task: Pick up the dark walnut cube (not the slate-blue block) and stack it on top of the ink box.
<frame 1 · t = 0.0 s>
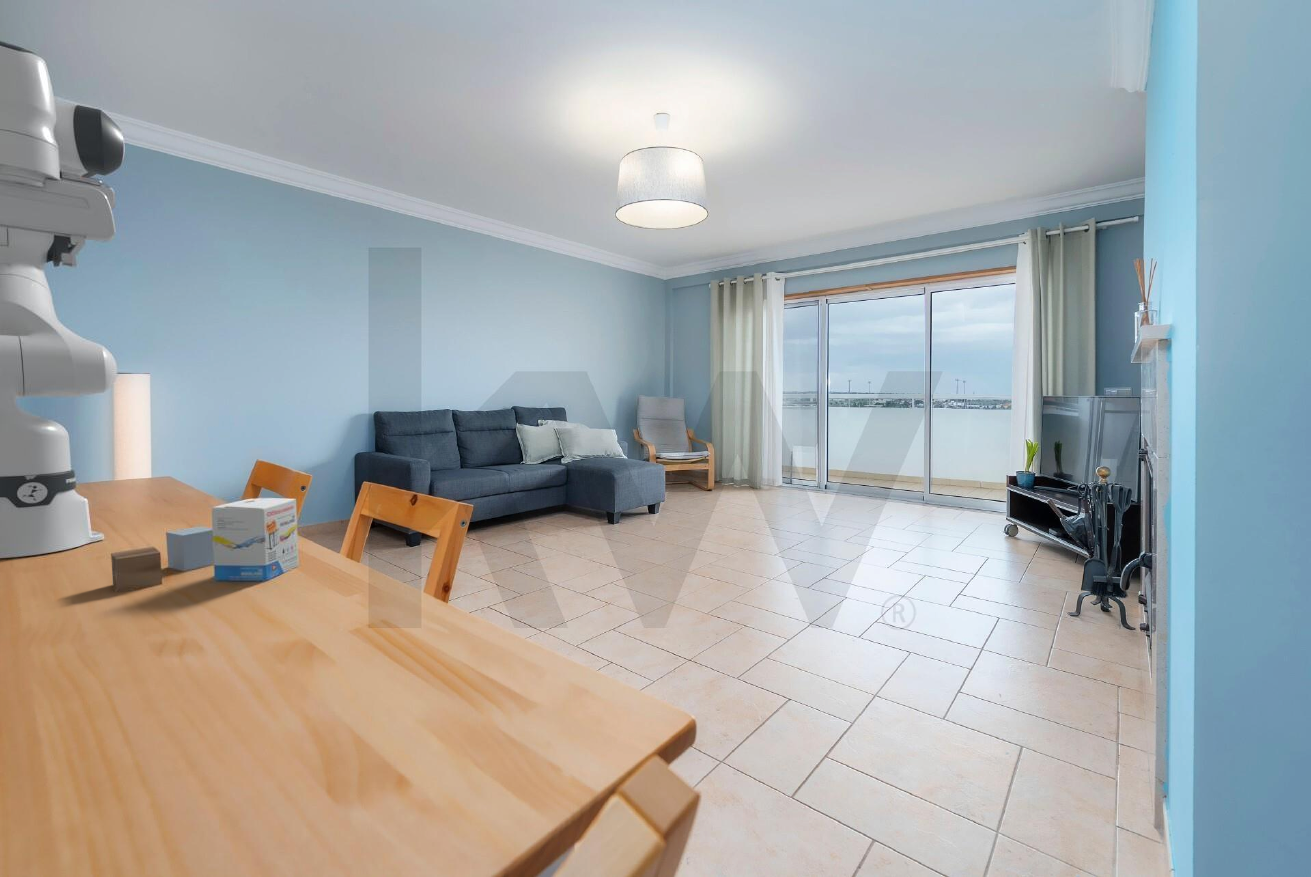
hand: (23, 261, 86), 48 cm above the table, fingers open, 8 cm apart
slate block: (193, 565, 100), on the table
walnut block: (137, 584, 90), on the table
ink box: (258, 574, 96), on the table
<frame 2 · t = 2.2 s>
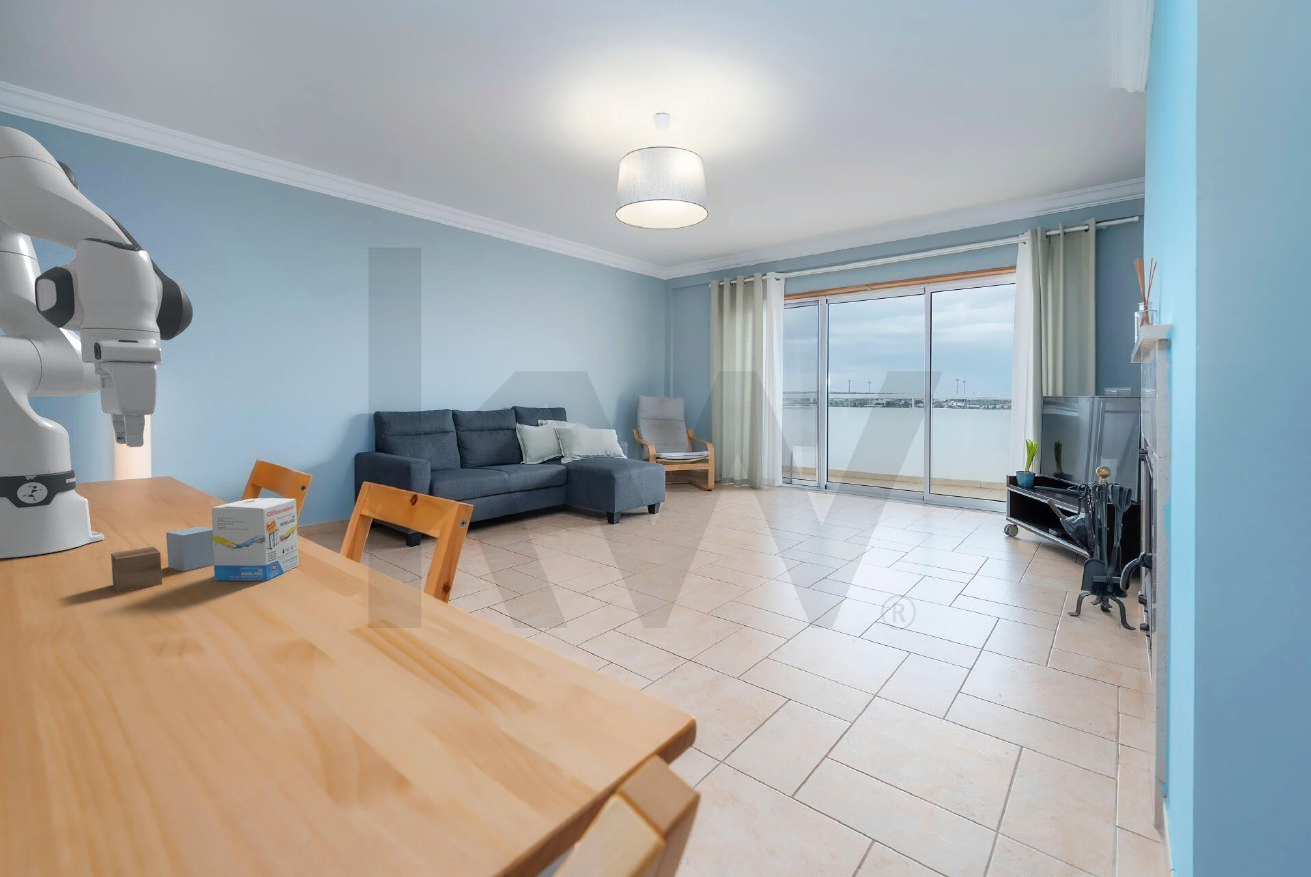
hand: (129, 445, 88), 21 cm above the table, fingers open, 8 cm apart
nothing on the table moved.
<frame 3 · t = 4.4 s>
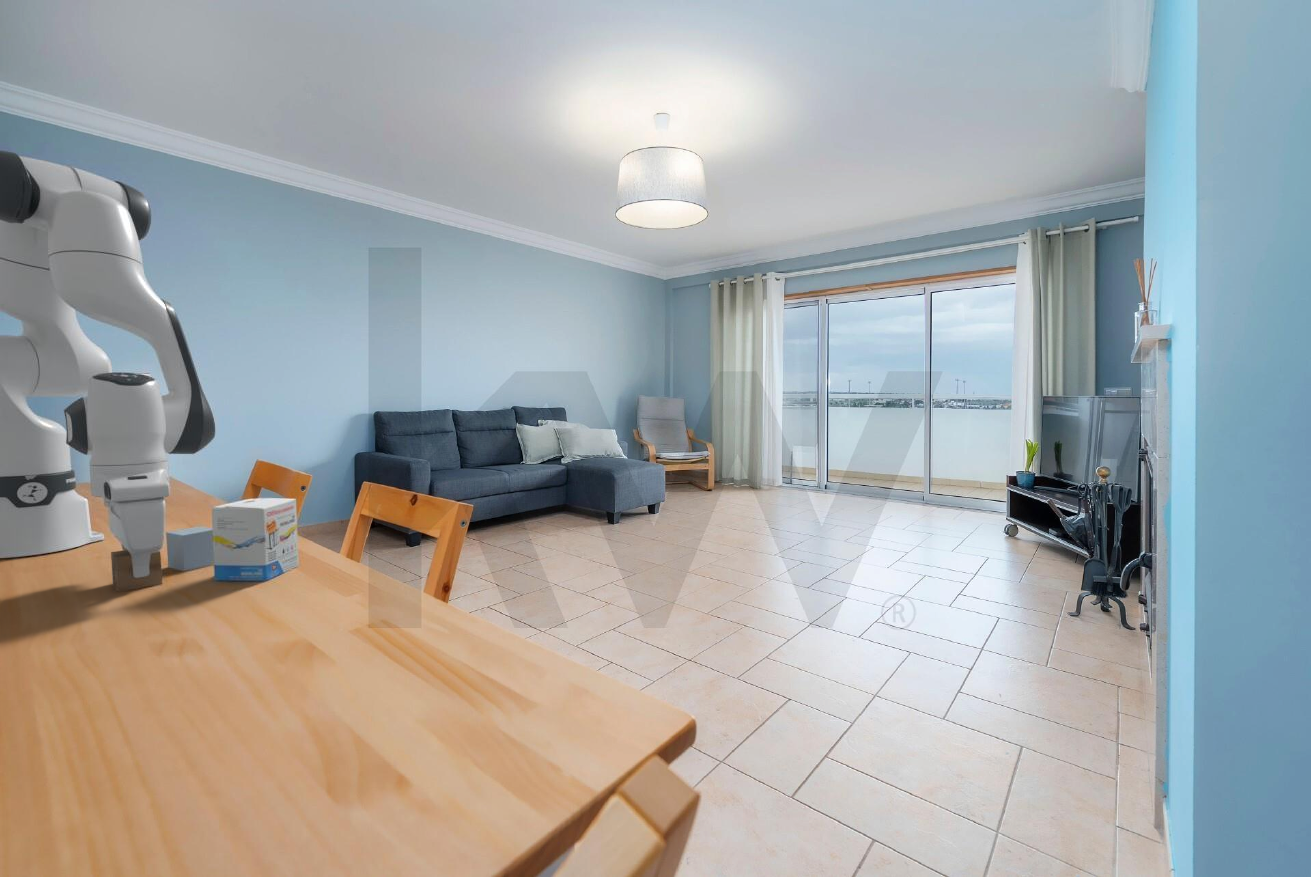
hand: (137, 571, 90), 2 cm above the table, fingers closed on walnut block, 5 cm apart
walnut block: (137, 584, 90), on the table, touching gripper
everything else where it was.
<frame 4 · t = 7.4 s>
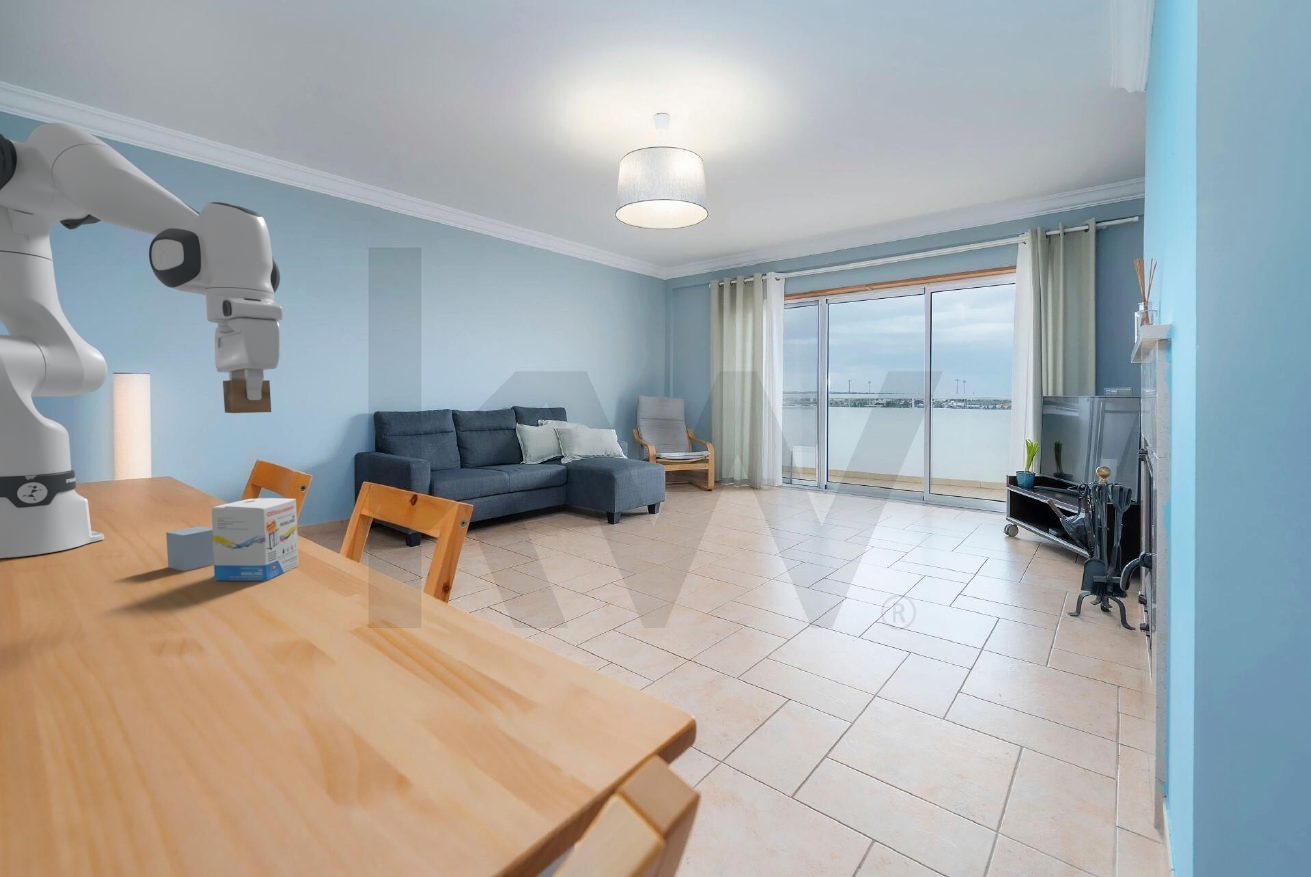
hand: (247, 400, 94), 28 cm above the table, fingers closed on walnut block, 5 cm apart
walnut block: (248, 412, 94), point 26 cm above the table, touching gripper
everything else where it was.
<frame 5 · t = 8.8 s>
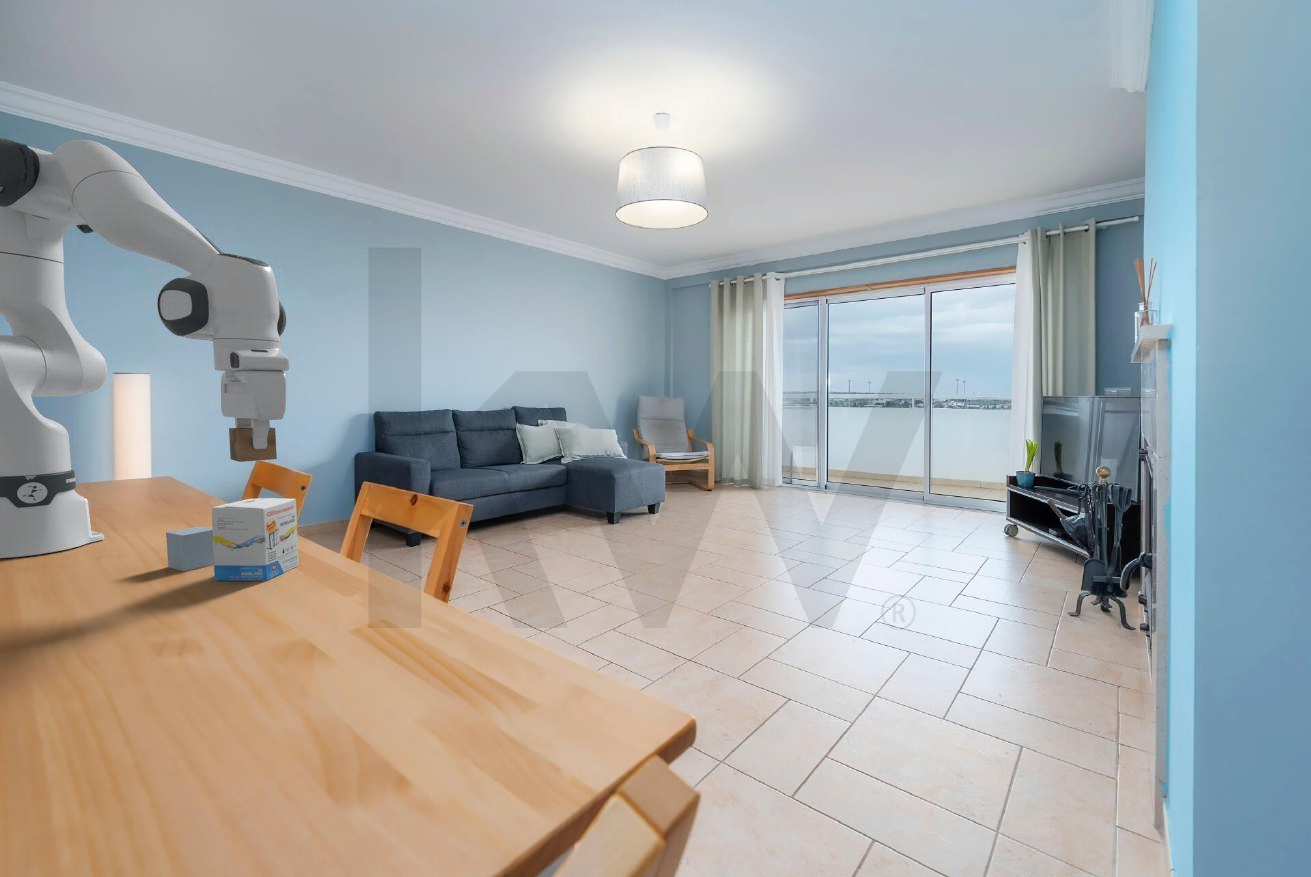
hand: (253, 447, 94), 20 cm above the table, fingers closed on walnut block, 5 cm apart
walnut block: (253, 459, 95), point 19 cm above the table, touching gripper
everything else where it was.
when the fingers open (15 cm above the table, at t = 10.3 s): walnut block drops 1 cm, resting on ink box.
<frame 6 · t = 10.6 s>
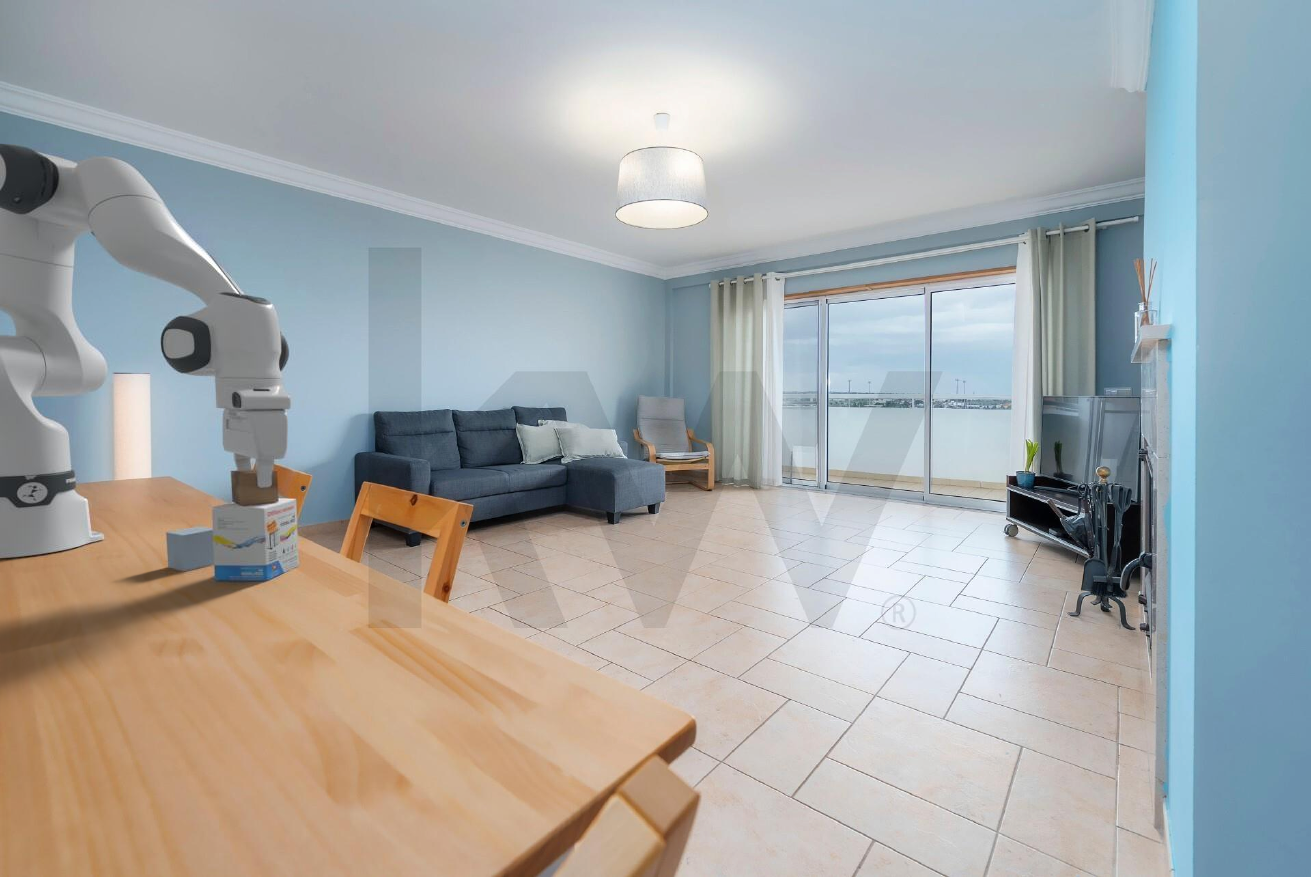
hand: (254, 483, 95), 15 cm above the table, fingers open, 8 cm apart
walnut block: (255, 501, 95), point 12 cm above the table, touching ink box
ink box: (259, 574, 96), on the table, touching walnut block
everything else where it was.
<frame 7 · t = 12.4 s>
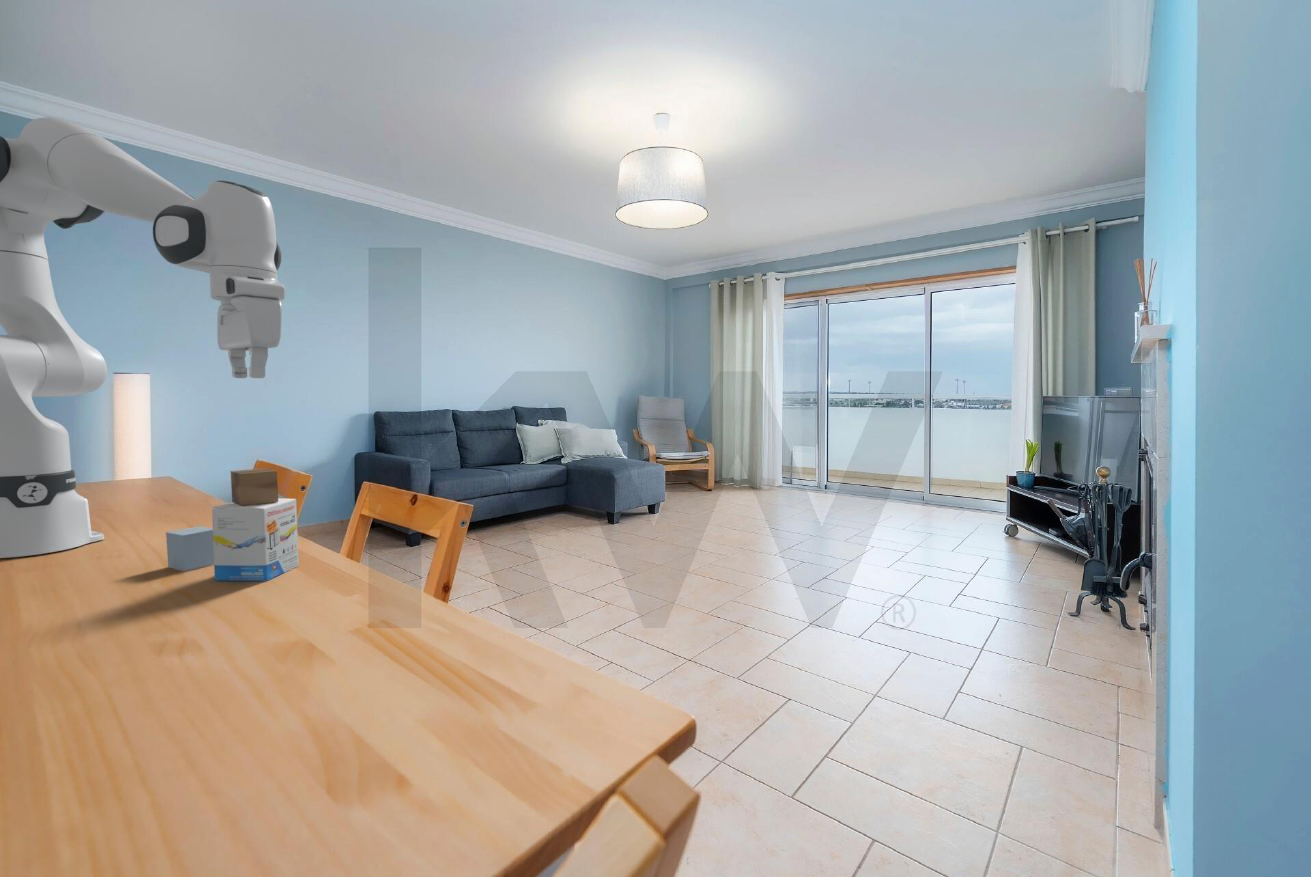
hand: (248, 378, 95), 31 cm above the table, fingers open, 8 cm apart
nothing on the table moved.
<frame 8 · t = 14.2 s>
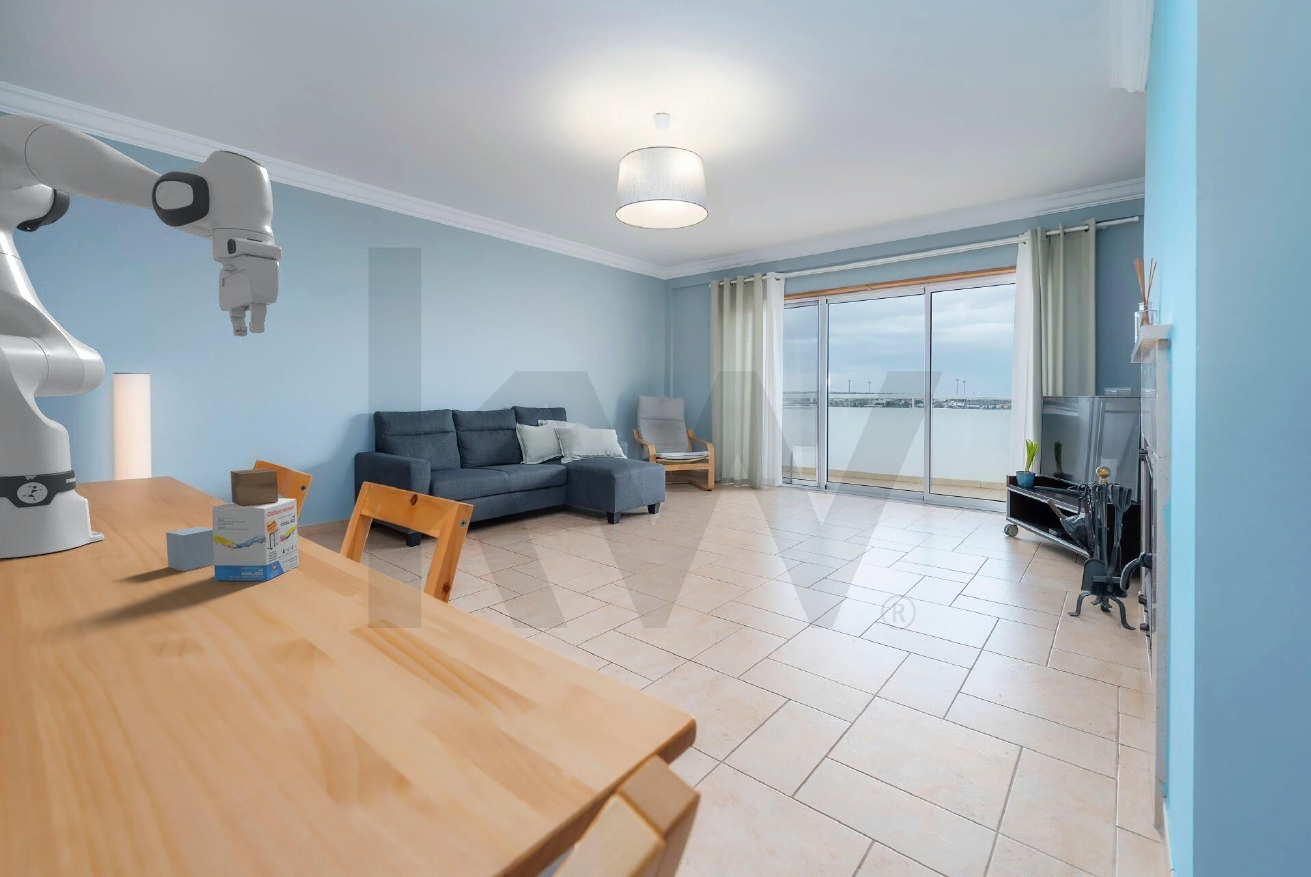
hand: (248, 334, 102), 39 cm above the table, fingers open, 8 cm apart
nothing on the table moved.
at the end: walnut block inside the target area on the ink box (0.1 cm from its centre), point 11.9 cm above the ink box's base; walnut block tilted 0°; the gripper is holding nothing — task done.
